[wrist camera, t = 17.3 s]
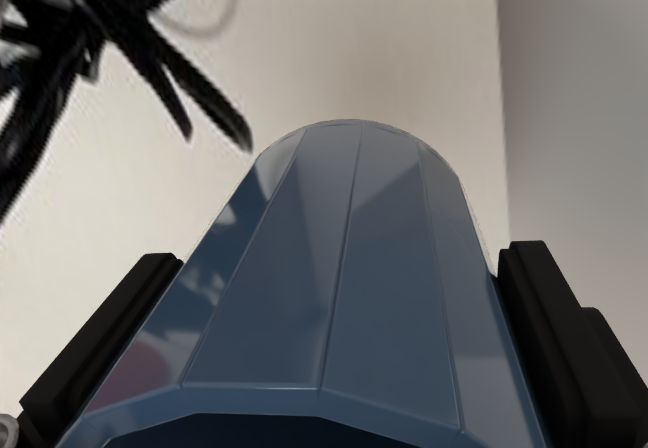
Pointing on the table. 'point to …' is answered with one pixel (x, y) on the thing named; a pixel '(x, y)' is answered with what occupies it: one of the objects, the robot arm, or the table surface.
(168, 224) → the table surface
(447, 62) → the table surface
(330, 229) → the cup
